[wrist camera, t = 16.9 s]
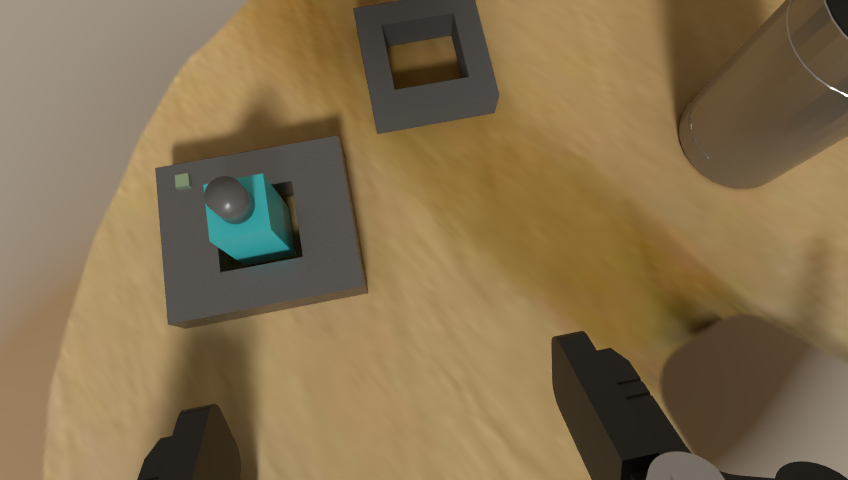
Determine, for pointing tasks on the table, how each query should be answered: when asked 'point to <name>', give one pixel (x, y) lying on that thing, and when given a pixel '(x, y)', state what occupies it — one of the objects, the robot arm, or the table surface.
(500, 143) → the table surface
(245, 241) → the plug
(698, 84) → the table surface
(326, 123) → the table surface
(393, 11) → the holster
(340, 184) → the port block
